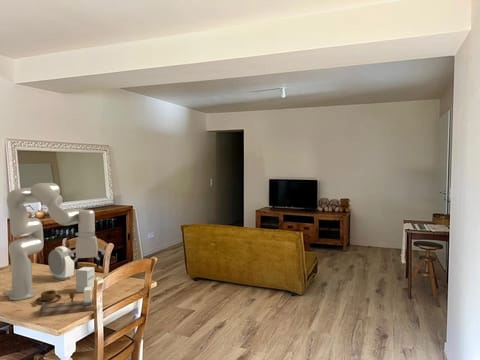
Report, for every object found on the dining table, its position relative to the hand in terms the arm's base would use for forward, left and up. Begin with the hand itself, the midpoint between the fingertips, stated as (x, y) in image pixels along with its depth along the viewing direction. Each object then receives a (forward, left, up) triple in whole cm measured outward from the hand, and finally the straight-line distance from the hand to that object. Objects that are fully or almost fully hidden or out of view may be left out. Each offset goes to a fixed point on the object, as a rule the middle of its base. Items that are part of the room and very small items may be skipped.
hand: (87, 268), depth 177 cm
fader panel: (-8, 0, -20) cm, 22 cm away
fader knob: (0, 0, -18) cm, 18 cm away
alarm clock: (-21, +55, -20) cm, 62 cm away
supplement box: (-4, +27, -20) cm, 34 cm away
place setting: (-19, +13, -21) cm, 31 cm away
